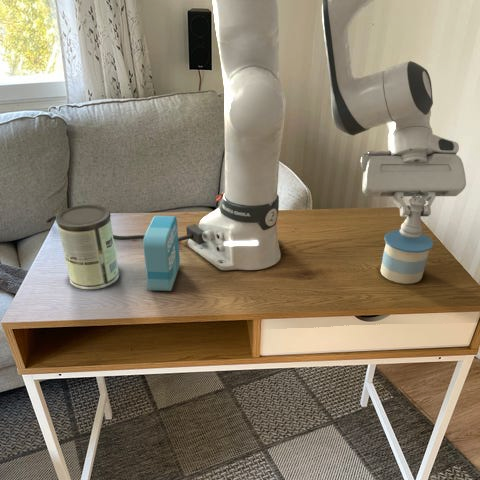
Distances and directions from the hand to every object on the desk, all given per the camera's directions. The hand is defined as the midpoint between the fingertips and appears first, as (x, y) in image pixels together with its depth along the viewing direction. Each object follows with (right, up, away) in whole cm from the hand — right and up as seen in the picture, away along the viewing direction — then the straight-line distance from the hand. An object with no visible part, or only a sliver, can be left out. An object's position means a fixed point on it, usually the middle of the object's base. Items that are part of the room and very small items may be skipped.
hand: (415, 215), depth 100 cm
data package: (-51, -12, +6) cm, 53 cm away
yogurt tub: (0, -11, +8) cm, 14 cm away
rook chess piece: (0, -3, +3) cm, 5 cm away
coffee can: (-66, -12, +6) cm, 67 cm away
